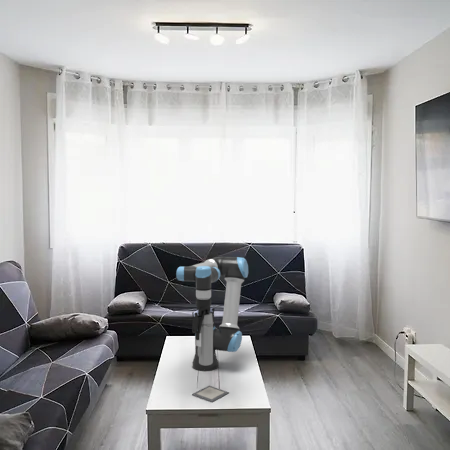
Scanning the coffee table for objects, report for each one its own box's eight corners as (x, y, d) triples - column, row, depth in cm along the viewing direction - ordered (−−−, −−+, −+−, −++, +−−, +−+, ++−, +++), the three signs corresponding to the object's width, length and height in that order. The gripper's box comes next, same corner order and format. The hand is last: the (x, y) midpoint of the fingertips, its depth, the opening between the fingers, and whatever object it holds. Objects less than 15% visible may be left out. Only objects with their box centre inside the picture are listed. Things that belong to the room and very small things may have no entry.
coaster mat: (209, 386, 233) (209, 385, 233) (228, 393, 225) (228, 392, 225) (191, 395, 223) (191, 393, 223) (212, 402, 214) (212, 401, 214)
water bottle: (205, 359, 230) (205, 311, 229) (216, 363, 224) (216, 313, 223) (192, 364, 223) (192, 314, 222) (203, 368, 218) (203, 317, 217)
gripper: (211, 293, 231) (211, 338, 232) (183, 300, 217) (184, 347, 218) (222, 295, 226) (222, 341, 227) (195, 302, 212) (195, 350, 213)
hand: (203, 344), depth 223 cm, fingers open, 6 cm apart
